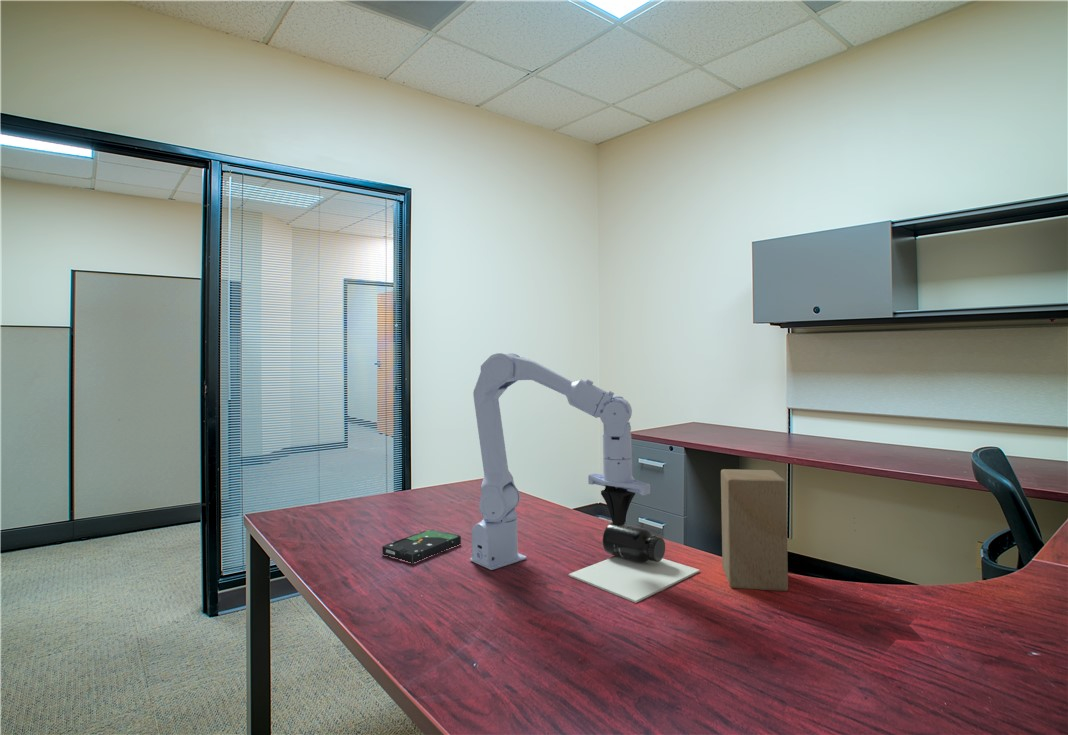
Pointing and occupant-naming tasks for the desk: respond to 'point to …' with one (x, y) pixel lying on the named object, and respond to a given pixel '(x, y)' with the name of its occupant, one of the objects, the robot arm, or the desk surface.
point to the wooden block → (754, 529)
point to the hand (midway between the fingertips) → (618, 524)
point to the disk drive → (421, 545)
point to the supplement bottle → (633, 543)
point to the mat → (633, 576)
